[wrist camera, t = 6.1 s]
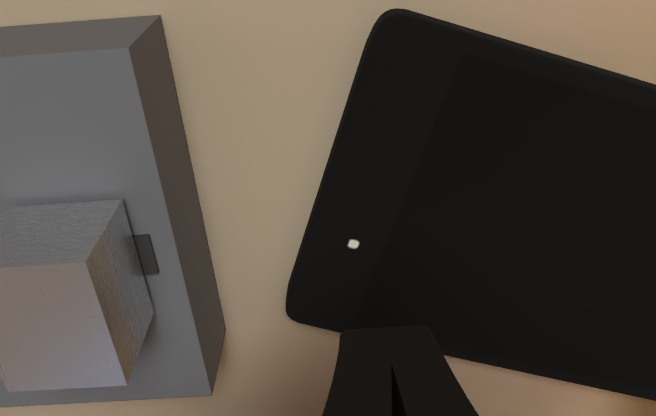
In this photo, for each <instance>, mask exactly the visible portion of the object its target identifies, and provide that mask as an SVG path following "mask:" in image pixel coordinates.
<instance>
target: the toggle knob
mask: <svg viewBox="0 0 656 416" xmlns="http://www.w3.org/2000/svg"><path fill="white" fill-rule="evenodd" d="M153 314H154V311H153V307H152V304H151V300H150V297H149V293H148V290H147V286H146V283H145V279H144V275H143V272H142V268H141V265H140V261H139V258H138V254H137V251H136V247H135V244H134V240H133V236H132V233H131V229H130V226H129V222H128V219H127V215H126V212H125V208H124V205H123V201H122V199H117V200H102V201H87V202H72V203H57V204H41V205H26V206H11V207H6V208H5V209H4V210H3V212H2V213H1V214H0V376H1V378H2V380H3V382H4V384H5V386H6V388H7V390H8V392H19V391H37V390H55V389H73V388H91V387H109V386H127V385H128V382H129V379H130V376H131V374H132V371H133V368H134V365H135V363H136V360H137V357H138V355H139V352H140V349H141V346H142V344H143V341H144V338H145V336H146V333H147V330H148V327H149V325H150V322H151V319H152V316H153Z"/></svg>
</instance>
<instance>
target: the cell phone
mask: <svg viewBox="0 0 656 416" xmlns="http://www.w3.org/2000/svg"><path fill="white" fill-rule="evenodd" d="M286 312H287V315H288V316H289V317H290V318H291V319H292V320H294V321H296V322H298V323H302V324H306V325H310V326H315V327H319V328H323V329H327V330H332V331H336V332H340V333H343V332H344V331H346V330H347V329H362V328H380V327H398V326H416V325H426V326H427V327H428V328H429V329H431V330H432V332H433V334H434V337H435V339H436V341H437V343H438V345H439V347H440V350H441V352H442V354H443V355H447V356H451V357H456V358H460V359H465V360H470V361H474V362H479V363H484V364H488V365H493V366H497V367H502V368H507V369H511V370H516V371H521V372H525V373H530V374H534V375H539V376H544V377H548V378H553V379H558V380H562V381H567V382H572V383H576V384H581V385H585V386H590V387H595V388H599V389H604V390H609V391H613V392H618V393H622V394H627V395H632V396H636V397H641V398H646V399H650V400H655V401H656V85H655V84H652V83H648V82H645V81H642V80H638V79H635V78H632V77H629V76H625V75H622V74H619V73H615V72H612V71H609V70H605V69H602V68H599V67H595V66H592V65H589V64H585V63H582V62H579V61H576V60H572V59H569V58H566V57H562V56H559V55H556V54H552V53H549V52H546V51H542V50H539V49H536V48H532V47H529V46H526V45H523V44H519V43H516V42H513V41H509V40H506V39H503V38H499V37H496V36H493V35H489V34H486V33H483V32H480V31H476V30H473V29H470V28H466V27H463V26H460V25H456V24H453V23H450V22H446V21H443V20H440V19H436V18H433V17H430V16H426V15H423V14H420V13H416V12H413V11H410V10H406V9H391V10H388V11H386V12H384V13H383V14H382V15H381V16H380V17H379V18H378V20H377V21H376V23H375V24H374V26H373V28H372V30H371V32H370V34H369V37H368V39H367V41H366V44H365V47H364V50H363V53H362V56H361V59H360V62H359V65H358V68H357V72H356V75H355V78H354V81H353V84H352V87H351V90H350V93H349V96H348V100H347V103H346V106H345V109H344V112H343V115H342V118H341V121H340V124H339V128H338V131H337V134H336V137H335V140H334V143H333V146H332V149H331V152H330V156H329V159H328V162H327V165H326V168H325V171H324V174H323V177H322V180H321V184H320V187H319V190H318V193H317V196H316V199H315V202H314V205H313V208H312V212H311V215H310V218H309V221H308V224H307V227H306V230H305V233H304V236H303V240H302V243H301V246H300V249H299V252H298V255H297V258H296V261H295V265H294V268H293V271H292V274H291V277H290V280H289V283H288V289H287V296H286Z"/></svg>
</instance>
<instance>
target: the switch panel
mask: <svg viewBox="0 0 656 416" xmlns="http://www.w3.org/2000/svg"><path fill="white" fill-rule="evenodd" d="M117 199H122V201H123V205H124V208H125V212H126V215H127V219H128V222H129V226H130V229H131V233H132V236H133V240H134V244H135V247H136V251H137V254H138V258H139V261H140V265H141V268H142V272H143V275H144V279H145V283H146V286H147V290H148V293H149V297H150V300H151V304H152V307H153V311H154V314H153V316H152V319H151V322H150V325H149V327H148V330H147V333H146V336H145V338H144V341H143V344H142V346H141V349H140V352H139V355H138V357H137V360H136V363H135V365H134V368H133V371H132V374H131V376H130V379H129V382H128V385H127V386H109V387H91V388H73V389H55V390H37V391H19V392H8V390H7V388H6V386H5V384H4V382H3V380H2V378H1V376H0V407H15V406H33V405H51V404H69V403H88V402H106V401H124V400H143V399H161V398H179V397H197V396H212V393H213V388H214V384H215V379H216V374H217V369H218V364H219V359H220V354H221V350H222V345H223V340H224V335H225V330H226V329H225V324H224V319H223V314H222V309H221V305H220V300H219V295H218V290H217V285H216V281H215V276H214V271H213V266H212V261H211V257H210V252H209V247H208V242H207V237H206V233H205V228H204V223H203V218H202V213H201V209H200V204H199V199H198V194H197V189H196V185H195V180H194V175H193V170H192V165H191V161H190V156H189V151H188V146H187V141H186V137H185V132H184V127H183V122H182V117H181V113H180V108H179V103H178V98H177V93H176V88H175V84H174V79H173V74H172V69H171V64H170V60H169V55H168V50H167V45H166V40H165V36H164V31H163V26H162V21H161V16H160V15H154V16H141V17H128V18H115V19H102V20H88V21H75V22H62V23H49V24H36V25H22V26H9V27H0V214H1V213H2V212H3V210H4V209H5V208H6V207H11V206H26V205H41V204H57V203H72V202H87V201H102V200H117Z"/></svg>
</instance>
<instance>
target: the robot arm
mask: <svg viewBox="0 0 656 416" xmlns="http://www.w3.org/2000/svg"><path fill="white" fill-rule="evenodd" d="M322 416H479V415H478V414H477V412H476V411H475V409H474V408H473V406H472V404H471V403H470V401H469V400H468V398H467V396H466V395H465V393H464V391H463V390H462V388H461V386H460V384H459V383H458V381H457V379H456V378H455V376H454V374H453V372H452V370H451V369H450V367H449V365H448V363H447V361H446V359H445V357H444V356H443V354H442V352H441V350H440V347H439V345H438V343H437V341H436V339H435V337H434V334H433V332H432V330H431V329H429V328H428V327H427V326H426V325H416V326H398V327H380V328H362V329H347V330H346V331H344V332H343V333H342V334H341V335H340V343H339V352H338V358H337V363H336V368H335V372H334V376H333V380H332V384H331V388H330V391H329V395H328V399H327V402H326V405H325V408H324V411H323V414H322Z"/></svg>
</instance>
